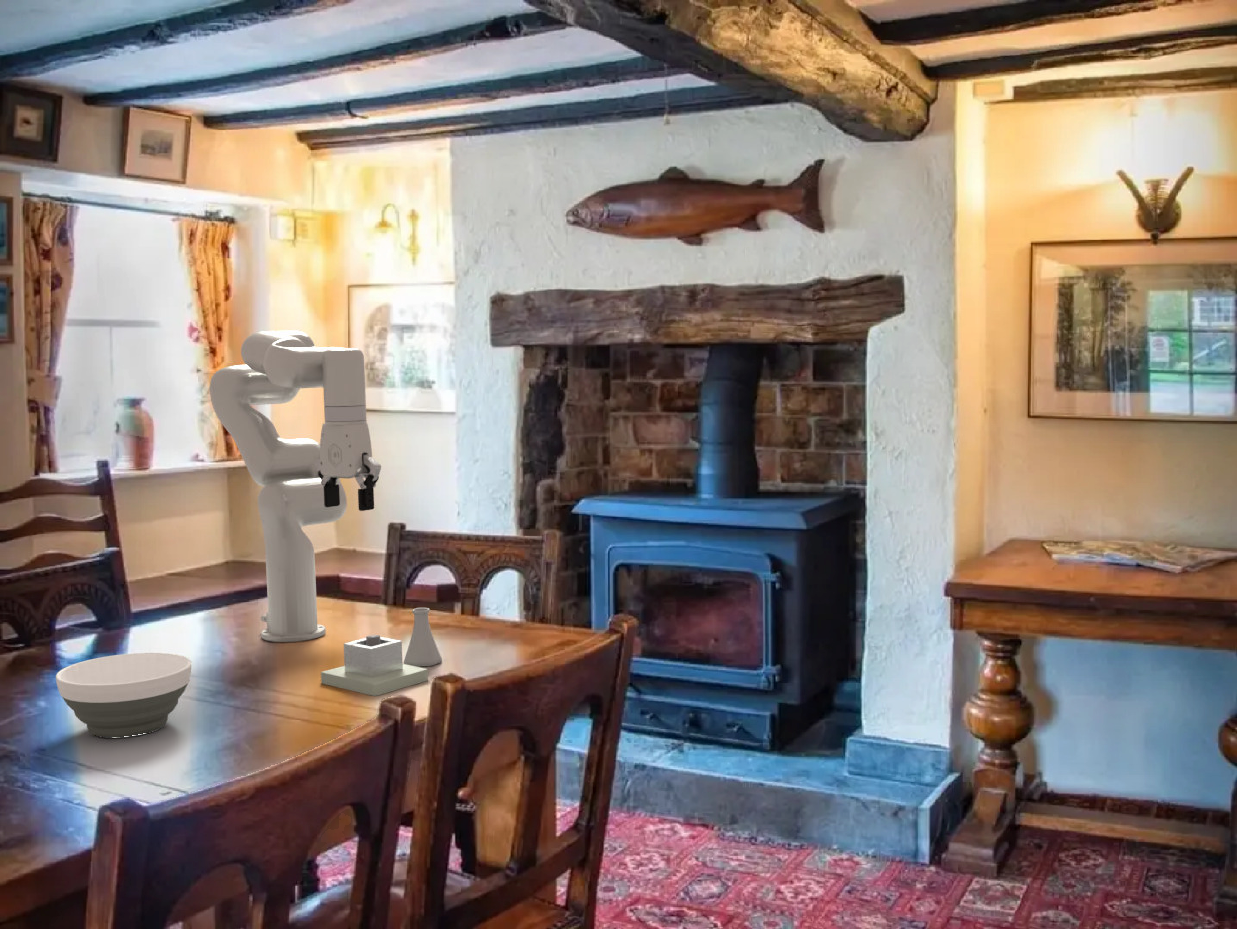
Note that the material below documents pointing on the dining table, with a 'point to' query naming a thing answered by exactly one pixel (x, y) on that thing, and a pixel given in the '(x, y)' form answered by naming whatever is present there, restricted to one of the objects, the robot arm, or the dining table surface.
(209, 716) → the dining table surface
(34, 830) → the dining table surface
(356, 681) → the keeper
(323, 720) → the dining table surface
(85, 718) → the bowl
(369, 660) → the white square ring
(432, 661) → the flask
